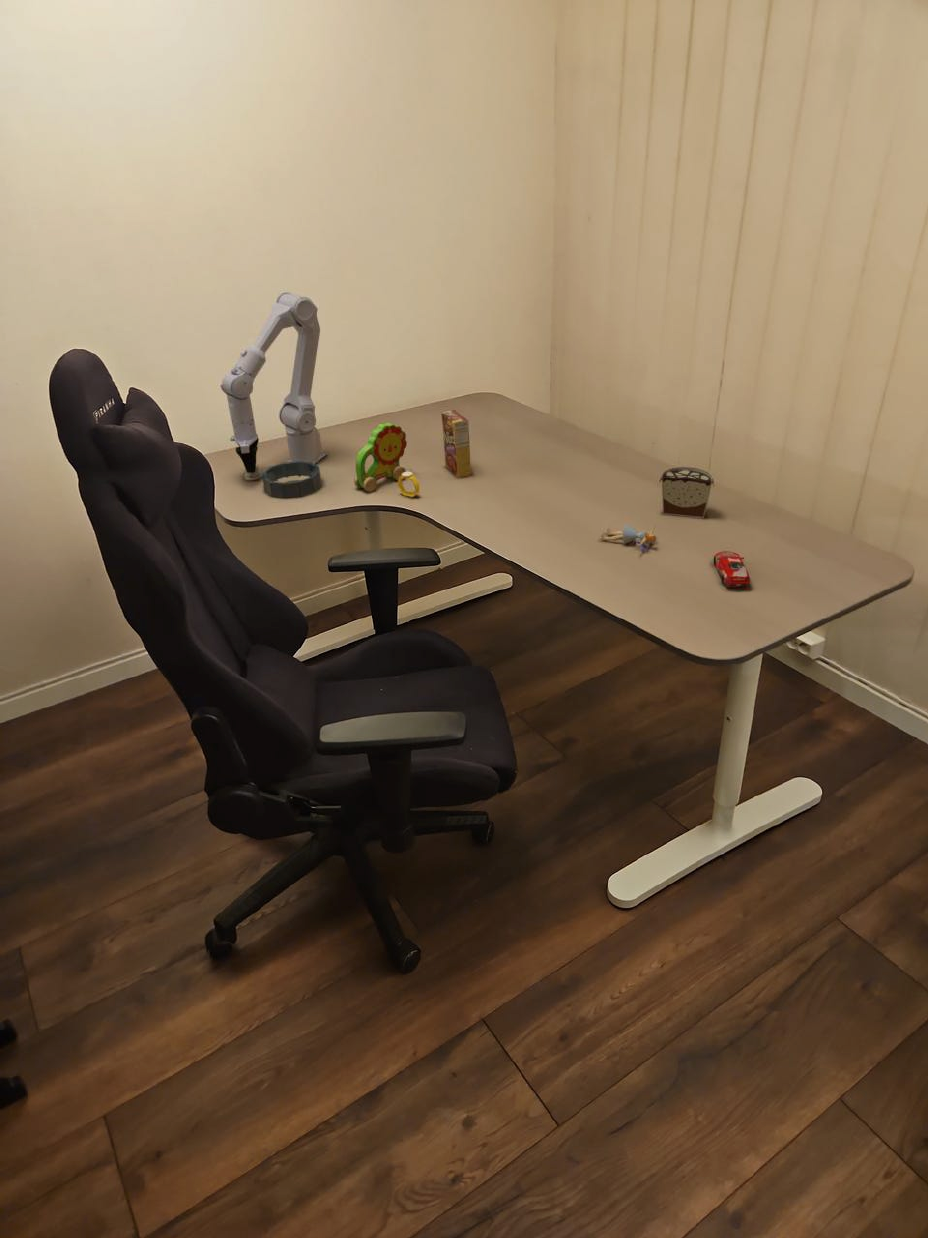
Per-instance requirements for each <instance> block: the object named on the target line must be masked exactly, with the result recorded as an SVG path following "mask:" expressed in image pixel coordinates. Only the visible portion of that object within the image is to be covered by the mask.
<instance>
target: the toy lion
mask: <svg viewBox="0 0 928 1238" xmlns="http://www.w3.org/2000/svg"><path fill="white" fill-rule="evenodd" d="M406 438H407V433H406V432H405V431H404V430H403V429H402V427H401V426H399V425H396V424H394V423H391V422H385V423H380V424H378V425H377V426H376V428H375V429H373V430H372V431H371V434H370V437H368V440H367V444H366V445H365V446H363V447H362V448H361V449H360V451H358V452H359V453H358V454H357V456H356V459H355V460H356V461H355V476H354V478H353V479H354V480H353V484H354V486H355V487H357V488H359V489H363V490H365V491H366V492H368V493H369V492H370V493H371V492H374V491H375V490H376V488H377V485H378V481H380V480H382V479H385V478H393V479H394V480H397V481H398V480H399V477H400V476H402V473H404V472H407V471H406V468H405V467H403V466H401V465H400V460H401V458H402V457H403V456H404V454H405V449H406V448H407V447H408V445H407V444H408V442H407V439H406ZM370 456H372V457H373V462H372V464H371V465H370V466H369V468H368V469H367V470H366V461H367V459H368V458H369V457H370Z"/></svg>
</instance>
